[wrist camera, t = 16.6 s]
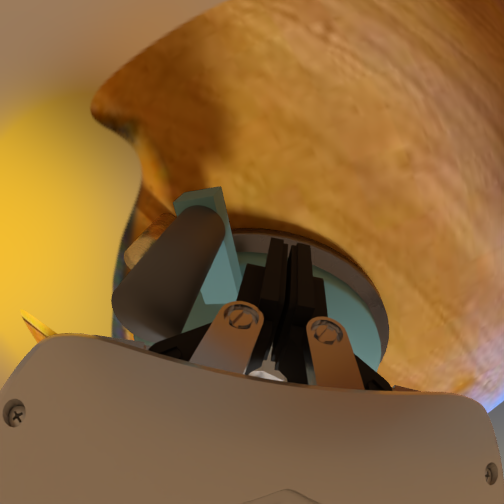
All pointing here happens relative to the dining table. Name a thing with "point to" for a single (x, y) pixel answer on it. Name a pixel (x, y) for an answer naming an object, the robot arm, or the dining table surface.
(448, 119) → the dining table surface
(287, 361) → the robot arm
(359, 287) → the turntable base
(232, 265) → the turntable
